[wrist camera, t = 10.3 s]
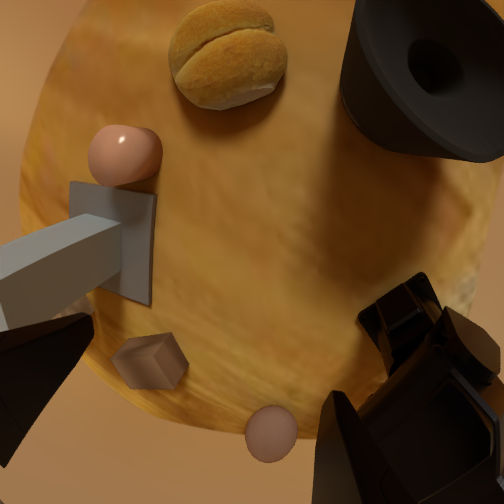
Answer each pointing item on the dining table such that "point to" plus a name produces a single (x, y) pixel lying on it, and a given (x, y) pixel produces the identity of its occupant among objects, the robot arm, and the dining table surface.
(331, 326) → the dining table surface
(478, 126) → the pen holder
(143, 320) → the dining table surface
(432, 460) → the robot arm
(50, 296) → the tall block
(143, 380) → the walnut brick
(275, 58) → the bread roll
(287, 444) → the mauve oval ball
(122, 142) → the pink rounded pebble
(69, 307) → the beech cube
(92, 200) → the coaster
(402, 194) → the dining table surface
